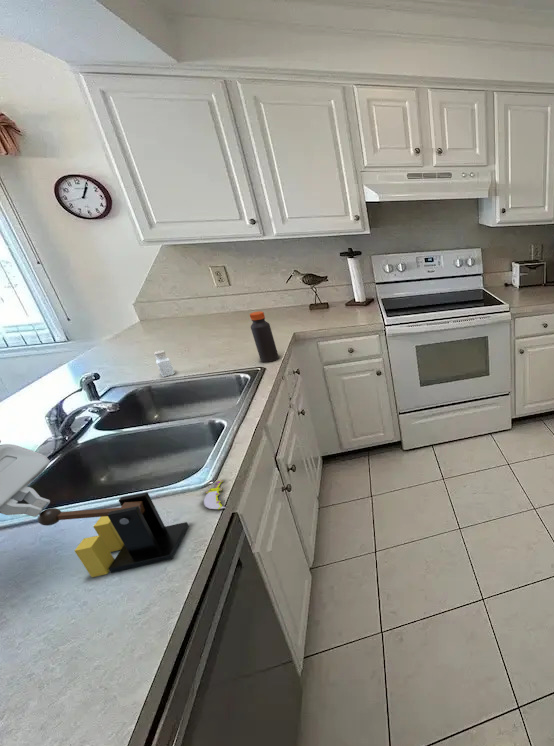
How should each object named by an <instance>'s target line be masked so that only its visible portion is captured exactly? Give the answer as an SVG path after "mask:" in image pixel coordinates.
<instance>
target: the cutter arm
mask: <svg viewBox="0 0 554 746" xmlns="http://www.w3.org/2000/svg"><path fill="white" fill-rule="evenodd" d="M136 506H138V507H139V509H140V511H141V513H142V514H143V512H144V511H145V510H144V506H143V502H142V501H137V502H124V504H123V505H122V506H121V505H120V507H109V508H97V509H96V508H95V509H94V508H93V509H82V510H69V511H61V510H60V508H59V509H58V508H55V507H50V508H45V509H44V510H43V511H42V512H41V513H40V514H39V515H38V516H37V521H38V523H39V525H42V526H44V527H45V526H46V527H48V526H52V525H55V524H57V523H58V522H60V521H65V520H77V519H78V520H79V519H91V518H100V517H104V516H107V515H108V514H109V512H111V511H116V510H121V509H126V508H131V507H136Z"/></svg>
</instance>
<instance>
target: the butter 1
mask: <svg viewBox="0 0 554 746" xmlns="http://www.w3.org/2000/svg"><path fill="white" fill-rule="evenodd" d="M92 528H93V529H94V531H95V533H96V534H97V536H98V535H100V536H101V538H102V540H103V541H104V543H105V545H106V546H107V548H108V549H109V551H110V553H112V552H117V551H118V552H119V551H120V550H121V549H122V547H123V546H124V543H123V541H122V540H121V538H120V536H119V535H118V533H117V531H116V529H115V528H114V526H113V524H112V522H111V521H110V519H109V517H108V516H104V517H99V518H98V520H97V521H96V523H95V524H94V525H93V526H92Z"/></svg>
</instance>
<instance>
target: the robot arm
mask: <svg viewBox="0 0 554 746" xmlns="http://www.w3.org/2000/svg"><path fill="white" fill-rule="evenodd" d="M1 442H2V440H1V439H0V514H2V515H4V516H17V515H25V516H29V517H33V518H36V517H37V518H38V516H39V514H40V513H41V512H42V511H44V510H46V509H47V507H48V506H49V505H50V503H51V500H50V499H48V498H45V497H42V496H40V495H39V493H38V492H37V491H36V490H35V489H34V488H33V487H29V485H30V484H31V483H33V482H34V481H35V480H36V479H37V478H38V477H39V476H40V475H41V474H43V472H44V471H45V470H46V469H47V467H48V466H49V465H50V463H51V461H50V459H49V458H48V457H47V456H46V455H44V454H42V453H40V452H37V451H34V450H32V449H28V448H25V447H23V446H19V445H16V444H11V443H3V444H1ZM22 501H25V502H26V503H19V502H22Z"/></svg>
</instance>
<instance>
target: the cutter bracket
mask: <svg viewBox="0 0 554 746" xmlns="http://www.w3.org/2000/svg"><path fill="white" fill-rule="evenodd" d="M137 501H142V502H143V506H144V510H145V511H144V512H143V514H142V513H141V511H140V509H139V507H138V506H136V507H131V508H126V509H121V510H116V511H111V512H109V514H108V515H107V516H108V517H109V519H110V521H111V522H112V524H113V526H114V528H115V529H116V531H117V533H118V535H119V536H120V538H121V540H122V541H123V543H124V546H123V547H122V549H121V550H119V551H118V554H117V555H116V557H115V558H114V559H115V560H114V561H113V563H112V564H111V566H110V567H109V570H110V571H109V572H110V573H111V574H112V573H118V572H123V571H127V570H131V569H135V568H140V567H143V566H144V567H145V566H148V565H153V564H158V563H162V562H165V561H170V560H173V559H174V556H175V554H176V552H177V550H178V548H179V546H180V545H181V543H182V540H183V538H184V537H185V535H186V532H187V531H188V529H189V526H190V525H189V524H188V522H187V521H186V522H181V523H176V524H175V523H174V524H171V525H166V526H165V523H164V522H163V520H162V518H161V515H160V514H159V512H158V510H157V508H156V505H155V504H154V502H153V500H152V498H151V496H150V494H149V492H148V491H146V492H142V493H141V492H140V493H136V494H131V495H126V496H121V497H120V498H119V499H118V502H119V504H120V507H121V506H122V505H123V504H124V502H137Z"/></svg>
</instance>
